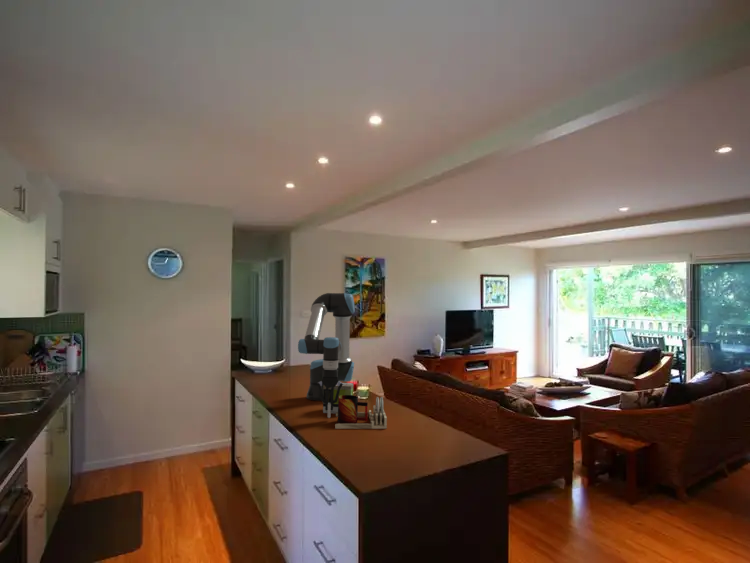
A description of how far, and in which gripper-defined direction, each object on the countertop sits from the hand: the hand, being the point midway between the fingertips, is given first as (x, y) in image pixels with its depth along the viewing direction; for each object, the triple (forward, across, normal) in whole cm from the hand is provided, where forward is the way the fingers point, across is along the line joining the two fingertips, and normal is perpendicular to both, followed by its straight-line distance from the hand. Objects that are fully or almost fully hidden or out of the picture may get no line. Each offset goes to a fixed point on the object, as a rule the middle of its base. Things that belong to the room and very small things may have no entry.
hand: (329, 416), depth 208 cm
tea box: (+2, +4, +18) cm, 19 cm away
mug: (+2, +11, -1) cm, 11 cm away
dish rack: (+2, +15, -2) cm, 16 cm away
